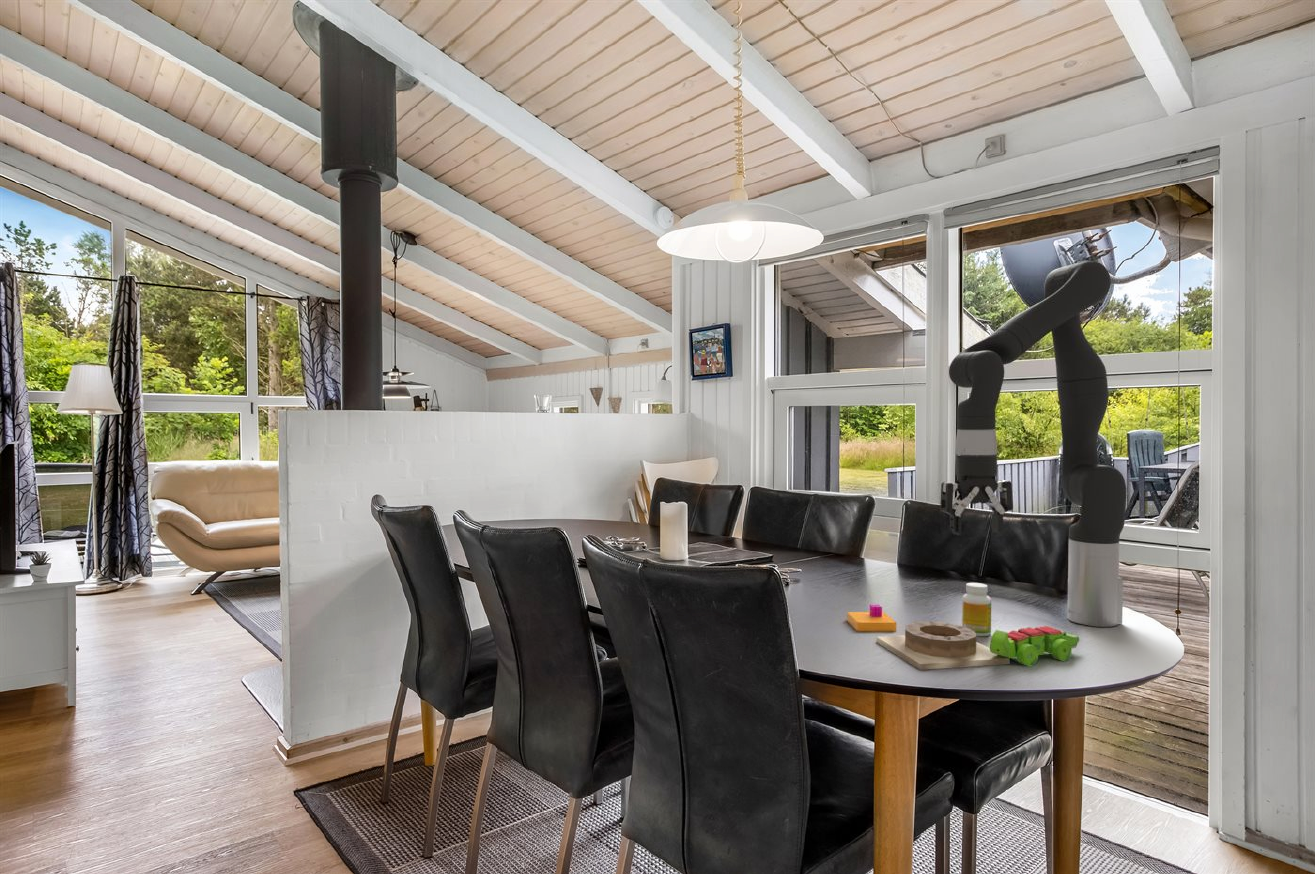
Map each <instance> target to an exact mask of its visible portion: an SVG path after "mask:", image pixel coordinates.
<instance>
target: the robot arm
mask: <svg viewBox="0 0 1315 874" xmlns="http://www.w3.org/2000/svg"><path fill="white" fill-rule="evenodd" d="M1043 285H1044V286H1043V287H1044V288H1043V289H1044V290H1043V291H1044V292H1043V293H1044V294H1043V295H1044V296H1043V297H1044V299H1043V300H1042V301H1040V302H1038V303H1036V304H1035V305H1032V306H1030V307H1029V308H1027V309H1024V310H1023V311H1021V312H1019V313H1016V315H1014V316H1013V317H1011V318H1010V319H1008V320H1006V321H1005V322H1004V323H1003V324H1002V325H1001V326H1000V327H998V328H997V329H995V331H993V332H992V333H991V334H990V335H989V336H987V337H985V338H984V339H982V340H979V341H977V342H976V343H974V344H972V345H971V346H969V347H967V348H966V349H964V350H962V351H961V352H959V353H958V354H957V355H956V356H955V357H954V358H953V359H952V361H951V362H950V365H949V367H948V377H949V379H950V380H951V382H952V383H953V384H954V385H956V386H957V387H960V388H965V389H967V388H968V389H969V388H971V391H970V394H969V397H968V398H967V399H965V400H962V401H960V402H959V403H958V404H957V412H956V418H957V419H956V422H957V423H956V429H957V430H956V438H955V468H956V469H955V474H956V481H955V483H954V482H947V481H946V482H945V481H943V482H942V483H941V484H940V485H941V486H940V487H941V488H940V507H939V510H940V512H942V513H946V514H948V515H949V525H950V526H949V529H950V531H951V532H952V534H953V535H956V536H961V535H962V531H963V530H962V529H963V528H962V526H963V525H962V524H963V523H962V518H963V517H962V516H961V514H962V513H963V512H964V511H965V509H966V508H968V506H970V504H972V505H977V504H979V503H980V504H985V505H987V506H988V508H989V509H990V510H991V512H992V513H991V518H990V519H991V520H990V521H991V532H992V533H993V534H994V533H995V534H1001V533H1002V531H1003V529H1004V515H1005V513H1006V512H1009V511H1010V512H1011V511H1012V510H1013V509H1014V501H1013V486H1012V484H1013V483H1012V482H1011V481H1010V480H1004V479H1001V480H999V481H997V478H996V477H997V475H998V439H997V433H996V428H997V427H996V426H997V424H996V421H997V420H996V417H997V416H996V408H997V404H998V401H999V398H1000V395H1001V391H1002V386H1003V383H1004V379H1005V367H1004V365H1008V364H1011V363H1013V362H1015V361H1016V360H1017V359H1019V358H1020V357H1022V356H1023V355H1024V354H1025V353H1026V352H1028V350H1030V349H1031V348H1032V347H1033V346H1035V345H1036V344H1037V343H1038V342H1040V340H1042V339H1043V338H1044V337H1046V336H1047V335H1048V334H1050V333H1051V335H1052V336H1051V337H1052V345H1053V353H1054V360H1055V370H1056V373H1055V374H1056V387H1057V388H1056V389H1057V396H1058V397H1057V398H1058V404H1059V414H1060V415H1059V416H1060V429H1061V438H1062V439H1061V440H1062V443H1061V444H1062V448H1061V450H1062V451H1061V452H1062V454H1061V455H1062V458H1061V459H1062V460H1061V485H1062V491H1063V493H1064V495H1065V497H1066V498H1067V499H1068V501H1069V502H1071V503H1072V504H1075V505H1077V506H1080V514H1079V515H1080V516H1079V520H1078V521H1077V522H1075V523H1073V524H1071V525H1070V526H1069V528H1068V558H1067V559H1068V560H1067V561H1068V563H1067V564H1068V567H1067V568H1068V571H1067V576H1068V577H1067V619H1068V620H1069V621H1071V622H1073V623H1076V624H1079V625H1085V626H1090V627H1099V628H1100V627H1101V628H1103V627H1104V628H1107V627H1110V628H1111V627H1115V626H1116V627H1117V626H1118V625H1119V624H1121V625H1122V624H1123V603H1124V599H1123V597H1124V579H1123V578H1122V577H1120V575H1119V574H1120V573H1119V572H1120V535H1121V534H1122V531H1123V529H1124V526H1125V520H1126V510H1127V509H1126V506H1127V484H1126V480H1125V478H1124V475H1123V473H1121V471H1120V470H1118V469H1117V468H1116V467H1113V466H1111V465H1106V464H1100V459H1099V454H1098V435H1099V431H1100V428H1101V426H1102V422H1103V419H1104V417H1105V415H1106V411H1107V410H1108V405H1109V404H1108V403H1109V387H1108V373H1107V370H1106V366H1105V364H1104V362H1103V360H1102V358H1101V357H1100V356H1099V354H1098V352H1096V350H1095V349H1094V348H1093V346H1092V345H1091V343H1090V342H1089V341H1088V339H1087V338H1086V336H1085V334H1084V331H1083V328H1082V322H1081V314H1080V313H1082V312H1084V311H1085V310H1087V309H1089V308H1091V307H1093V306H1095V305H1096V304H1098V303H1100V302H1101V301H1102V300H1104V299H1105V297H1106V296H1107V295H1108V294H1109V291H1110V288H1111V275H1110V272H1109V270H1108V269H1107V267H1106V266H1105V265H1104V264H1103V263H1101V262H1098V261H1095V260H1087V261H1085V260H1084V261H1080V262H1076V263H1073V264H1069V265H1065V266H1062V267H1058V268H1056V269H1053V270H1051V271H1050V272H1049V274H1048V275H1047V276H1046V279H1045V281H1044V284H1043ZM956 491H957V493H958V494H957V495H956V497H955V498H954V494H955V493H956ZM996 491H998V492H999V493H998V494H999V498H998V497H997V496H996V494H995V492H996Z"/></svg>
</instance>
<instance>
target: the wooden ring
mask: <svg viewBox="0 0 1315 874" xmlns="http://www.w3.org/2000/svg"><path fill="white" fill-rule="evenodd" d="M904 633H905V634H904V635H905V646H906V647H908V648H909V649H911V650H913V651H914V652H918V653H922V654H925V655H929V656H936V657H946V658H957V657H968V656H970V655H973V654H975V653H976V642H977V636H976V634H975V631H973V630H971V629H969V628H966V627H964V626H962V625H959V624H953V623H949V622H943V621H919V622H918V621H917V622H916V621H915V622H912V623H909V624H906V625H905V631H904Z"/></svg>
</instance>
